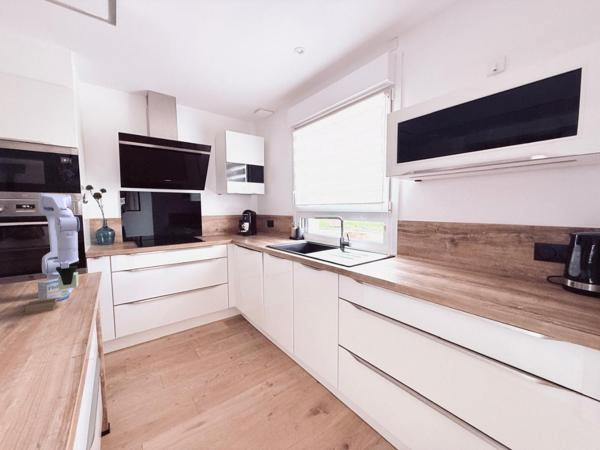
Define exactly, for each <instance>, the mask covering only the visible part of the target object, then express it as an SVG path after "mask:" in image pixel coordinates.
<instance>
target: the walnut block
mask: <svg viewBox="0 0 600 450" xmlns="http://www.w3.org/2000/svg"><path fill="white" fill-rule="evenodd" d="M57 302H58V301H56V298H48V299H41V300H39V299H35V300H29V301H28V303H27V304H26V305H25V308H24V312H25V315H26V316H27V315H31V314H38V313H44V312H49V311H54V310H55V308H56V306H57Z"/></svg>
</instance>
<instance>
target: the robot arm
mask: <svg viewBox="0 0 600 450" xmlns="http://www.w3.org/2000/svg"><path fill="white" fill-rule="evenodd" d="M37 197H38V199H37V200H38V201H37V202H38V210H39V213H40V214H42V215H44V216H45V217H46V220H47V225H48V237H49V239H48V240H49V247H50V251H49V252H47V253H46V254H44V255H43V256H42V259H41V271H42V274H44V275H46V279H47V280H52V279H56V278H58V276H59V275H60V276H61V279H62V282H63V285H70V284H71V283H72V279H73V274H74V272H77V269H78V266H79V264H80V261H79V260H80V259H79V250H78V249H79V245H78V244H79V240H78V239H79V238H78V237H79V236H78V234H79V233H78V232H79V231H80V227H81V226H80V225H81V224H80V219H79V217H78V216H74V214H73V211H72V210H71V207H72V196H71V195H70V194H69V193H67V194H64V193H63V194H61V193H43V192H40V193H39V194H38V196H37ZM47 280H46V281H47ZM73 290H74V288H69V295H71V293H72V291H73Z"/></svg>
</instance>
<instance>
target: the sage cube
mask: <svg viewBox="0 0 600 450" xmlns="http://www.w3.org/2000/svg"><path fill="white" fill-rule="evenodd" d="M78 286H79V271H76V272H74V274H73V279H72V283H71V284H70V285H63V282H62V279H61V276H60V275H59V276H58V287H59V290H60V289H68V288H73V289H75V288H77V287H78Z"/></svg>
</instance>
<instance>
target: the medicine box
mask: <svg viewBox="0 0 600 450" xmlns="http://www.w3.org/2000/svg"><path fill="white" fill-rule="evenodd" d="M37 294H38V300H41V299H48V298H56V301H57V302H60V301H64V300H67V299H70V294H69V288H68V289H60V290H59V287H58V278H56V279H52V280H43V281H40V282H39V281H38V282H37Z"/></svg>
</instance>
